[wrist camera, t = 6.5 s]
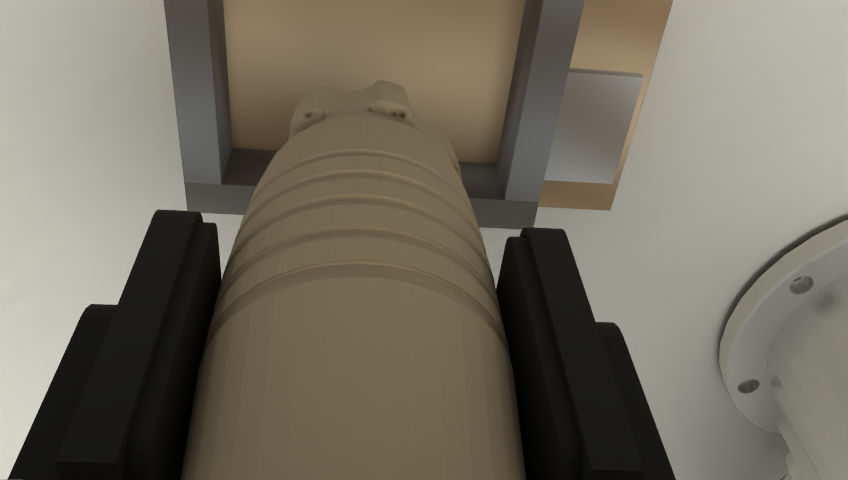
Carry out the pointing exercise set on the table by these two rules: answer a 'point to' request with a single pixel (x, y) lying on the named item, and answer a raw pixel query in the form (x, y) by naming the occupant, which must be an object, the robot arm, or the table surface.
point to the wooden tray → (421, 89)
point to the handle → (357, 314)
